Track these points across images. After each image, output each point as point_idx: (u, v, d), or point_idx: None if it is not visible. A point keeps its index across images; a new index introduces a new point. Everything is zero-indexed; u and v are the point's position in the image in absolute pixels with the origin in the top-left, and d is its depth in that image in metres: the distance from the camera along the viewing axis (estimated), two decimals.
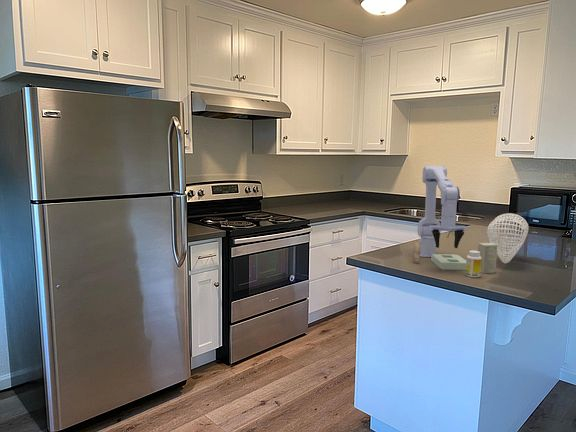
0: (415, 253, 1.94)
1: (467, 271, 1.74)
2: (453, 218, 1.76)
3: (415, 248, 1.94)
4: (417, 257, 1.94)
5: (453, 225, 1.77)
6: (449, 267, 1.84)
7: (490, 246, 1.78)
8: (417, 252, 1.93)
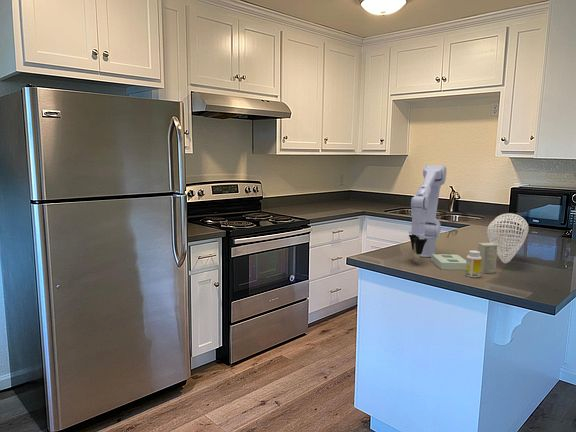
0: (415, 253, 1.94)
1: (467, 271, 1.74)
2: (413, 224, 1.92)
3: (415, 248, 1.94)
4: (417, 257, 1.94)
5: (413, 231, 1.92)
6: (449, 267, 1.84)
7: (490, 246, 1.78)
8: None
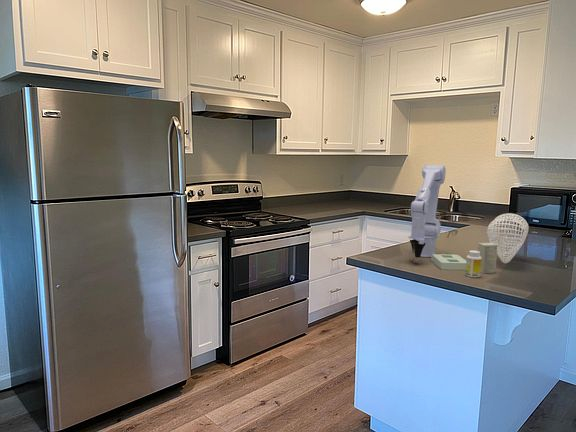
0: None
1: (467, 271, 1.74)
2: (413, 229, 1.92)
3: None
4: None
5: (413, 235, 1.92)
6: (449, 267, 1.84)
7: (490, 246, 1.78)
8: None
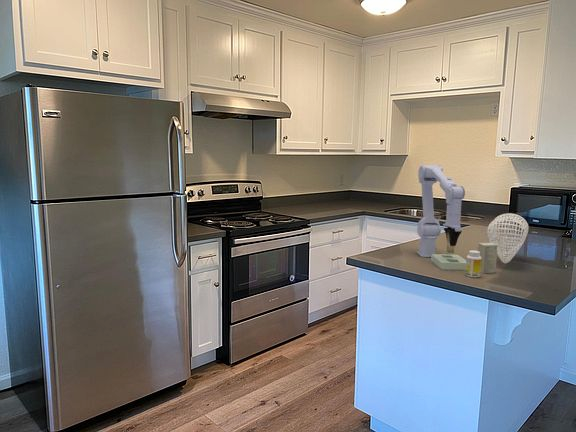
0: (449, 242, 1.86)
1: (467, 271, 1.74)
2: (448, 216, 1.84)
3: None
4: (451, 246, 1.86)
5: (448, 223, 1.84)
6: (449, 267, 1.84)
7: (490, 246, 1.78)
8: None
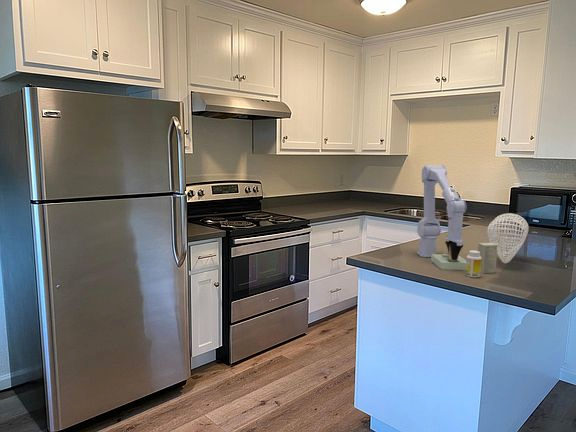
0: (450, 256, 1.86)
1: (467, 271, 1.74)
2: (450, 230, 1.84)
3: (450, 250, 1.86)
4: (452, 260, 1.86)
5: (450, 237, 1.85)
6: (449, 267, 1.84)
7: (490, 246, 1.78)
8: None
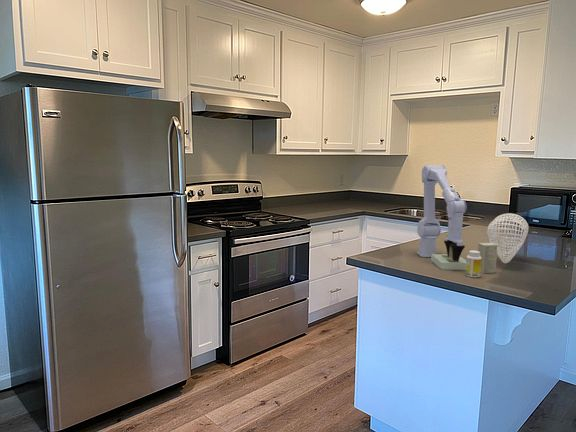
0: (450, 257, 1.86)
1: (467, 271, 1.74)
2: (450, 230, 1.84)
3: (451, 252, 1.86)
4: (452, 261, 1.86)
5: (450, 237, 1.85)
6: (449, 267, 1.84)
7: (490, 246, 1.78)
8: (452, 256, 1.86)
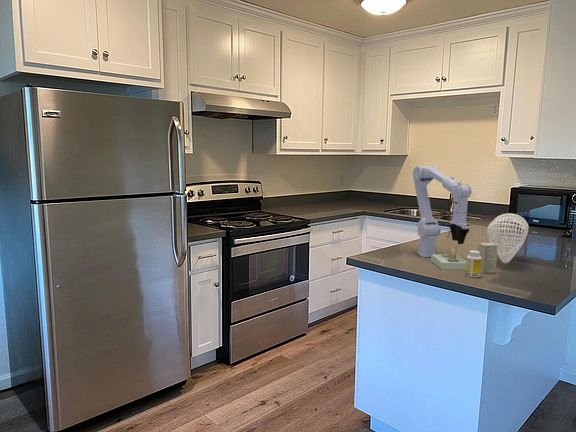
0: (450, 257, 1.86)
1: (467, 271, 1.74)
2: (454, 214, 1.88)
3: (450, 252, 1.86)
4: None
5: (454, 220, 1.89)
6: (449, 267, 1.84)
7: (490, 246, 1.78)
8: (452, 256, 1.86)
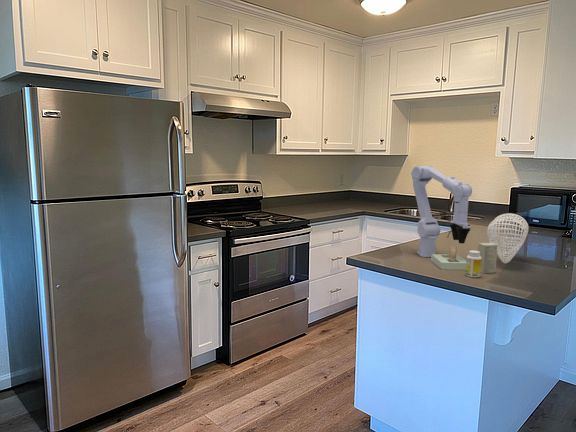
0: (450, 257, 1.86)
1: (467, 271, 1.74)
2: (455, 213, 1.89)
3: (450, 252, 1.86)
4: None
5: (455, 220, 1.89)
6: (449, 267, 1.84)
7: (490, 246, 1.78)
8: (452, 256, 1.86)
